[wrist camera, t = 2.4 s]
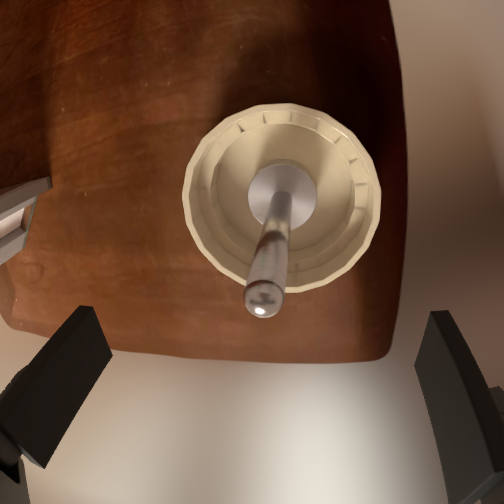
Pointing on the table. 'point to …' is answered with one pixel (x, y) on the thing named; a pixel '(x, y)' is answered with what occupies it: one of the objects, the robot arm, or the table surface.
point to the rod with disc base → (276, 229)
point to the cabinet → (18, 214)
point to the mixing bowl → (245, 168)
